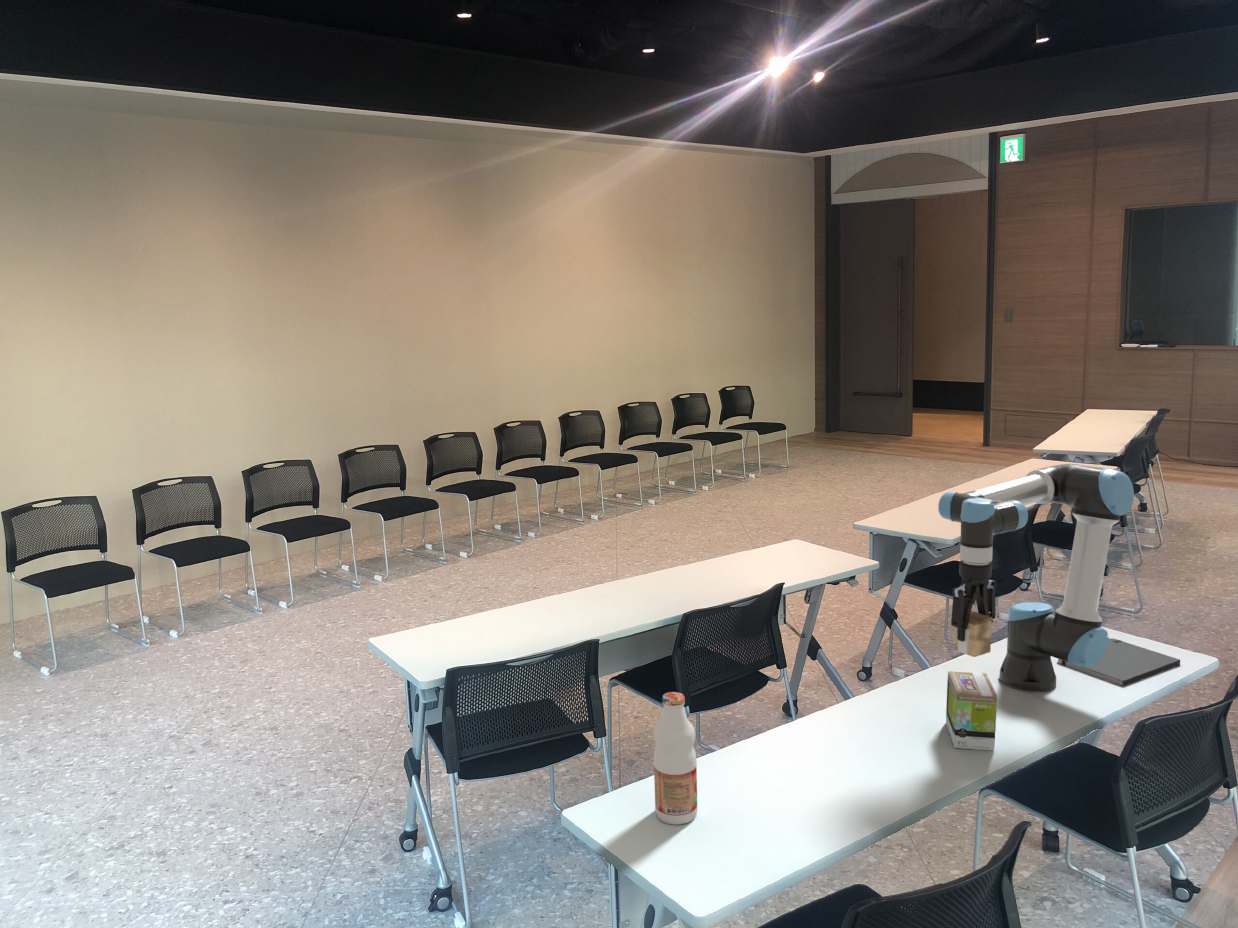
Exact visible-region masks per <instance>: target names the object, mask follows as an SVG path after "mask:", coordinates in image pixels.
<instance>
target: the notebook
mask: <svg viewBox="0 0 1238 928" xmlns="http://www.w3.org/2000/svg"><path fill="white" fill-rule="evenodd" d="M1057 663H1058V664H1061V665H1062V666H1066V667H1068V668H1072V669H1075V670H1077V671H1080V672H1082V673H1086V674H1088V675H1091V676H1094V677H1096V678H1100V679H1102V680H1105V681H1108V682H1110V683H1113V684H1116V685H1118V686H1122V687H1125V686H1127V685H1130V684H1132V683H1135V682H1139V681H1140V680H1141V681H1142V680H1144V679H1145V678H1146V679H1147V678H1149V677H1151V676H1154V675H1157V674H1160V673H1162V672H1165V671H1167V670H1170V669H1173V668H1176V667H1177V666H1180V665H1181V659H1180V658H1176V657H1173V656H1170V655H1167V654H1163V653H1160V652H1158V651H1155V650H1151V649H1148V648H1145V647H1142V646H1139V645H1137V644H1132V643H1130V642H1126V641H1123V640H1121V639H1116V638H1111V637H1110V638H1109V643H1108V647H1107V649H1106V652H1105V654H1104V655H1103V657H1102V658H1101V659H1100V660H1099V661H1098V662H1097V663H1096V664H1094V665H1093V666H1090V667H1082V666H1079V665H1075V664H1074V665H1073V664H1071V663H1069V662H1066V661H1064V660H1061V659H1058V658H1057Z"/></svg>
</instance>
